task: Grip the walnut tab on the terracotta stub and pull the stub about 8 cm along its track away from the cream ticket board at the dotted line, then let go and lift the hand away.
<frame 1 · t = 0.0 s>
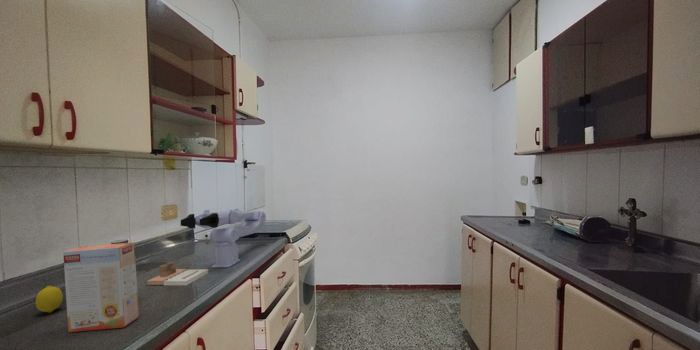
hand: (190, 222, 102), 22 cm above the counter, tool horizontal, fingers open, 7 cm apart
sauce bottle: (124, 305, 86), on the counter
cracker box: (105, 325, 74), on the counter
lemon: (50, 313, 84), on the counter
ticket board: (187, 278, 106), on the counter
stub: (167, 271, 107), point 3 cm above the counter, slide at 0.0 cm
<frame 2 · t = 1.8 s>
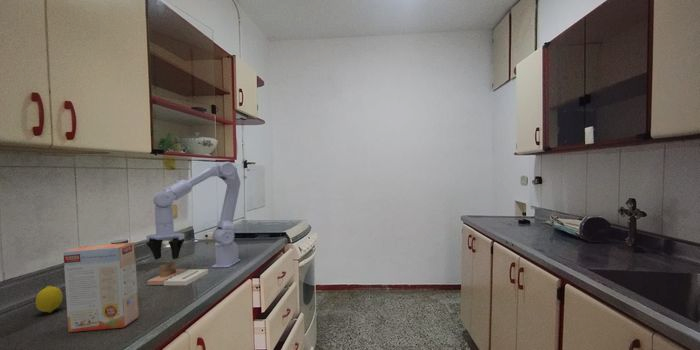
hand: (166, 258, 107), 8 cm above the counter, tool pointing down, fingers open, 7 cm apart
nothing on the counter moved.
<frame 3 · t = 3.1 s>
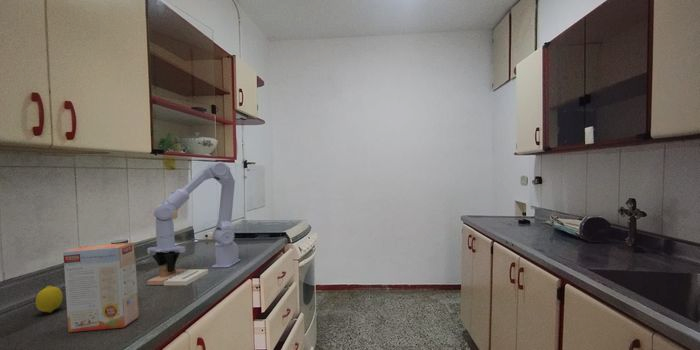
hand: (167, 271, 107), 3 cm above the counter, tool pointing down, fingers closed on stub, 2 cm apart
stub: (167, 271, 107), point 3 cm above the counter, slide at 0.0 cm, touching gripper
everything else where it was.
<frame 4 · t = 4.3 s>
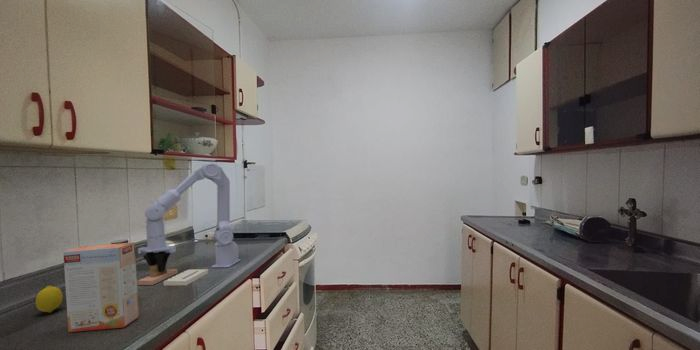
hand: (158, 271, 108), 3 cm above the counter, tool pointing down, fingers closed on stub, 2 cm apart
stub: (158, 271, 108), point 3 cm above the counter, slide at 4.1 cm, touching gripper
everything else where it was.
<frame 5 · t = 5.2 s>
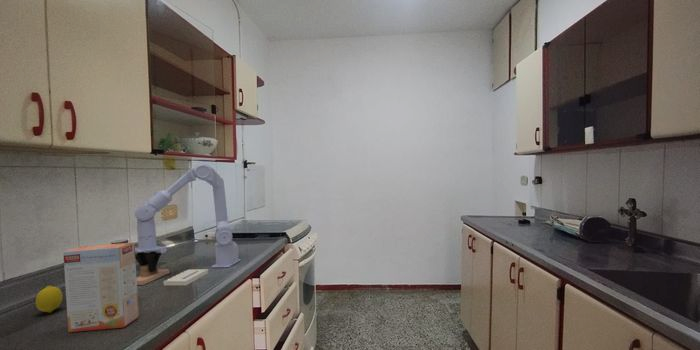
hand: (149, 271, 108), 3 cm above the counter, tool pointing down, fingers closed on stub, 2 cm apart
stub: (149, 271, 108), point 3 cm above the counter, slide at 8.0 cm, touching gripper
everything else where it was.
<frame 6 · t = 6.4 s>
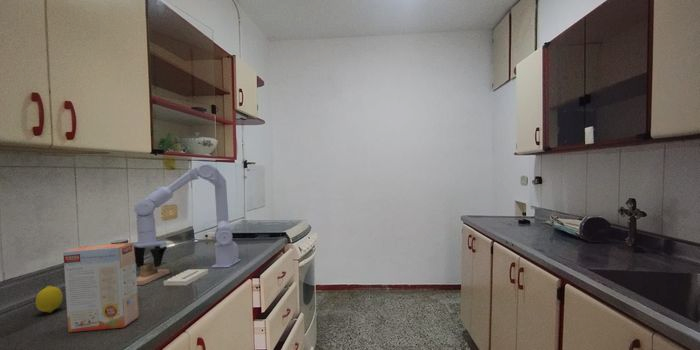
hand: (149, 266, 108), 5 cm above the counter, tool pointing down, fingers open, 7 cm apart
stub: (149, 271, 108), point 3 cm above the counter, slide at 8.0 cm
everything else where it was.
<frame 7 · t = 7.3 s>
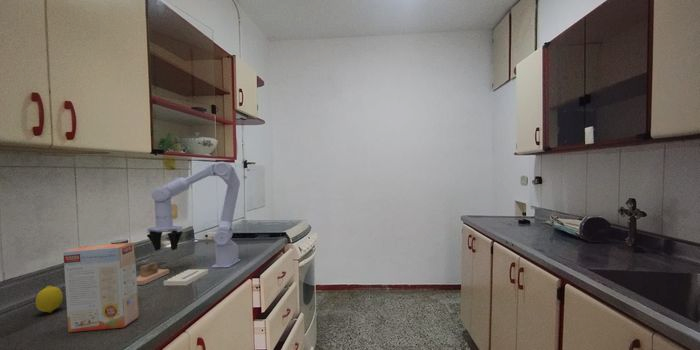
hand: (166, 249, 115), 9 cm above the counter, tool pointing down, fingers open, 7 cm apart
nothing on the counter moved.
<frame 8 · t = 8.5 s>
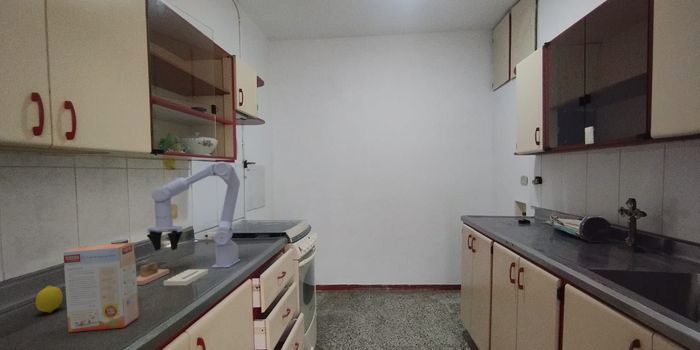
hand: (166, 249, 115), 9 cm above the counter, tool pointing down, fingers open, 7 cm apart
nothing on the counter moved.
at the end: stub slide at 8.0 cm; the gripper is holding nothing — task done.
